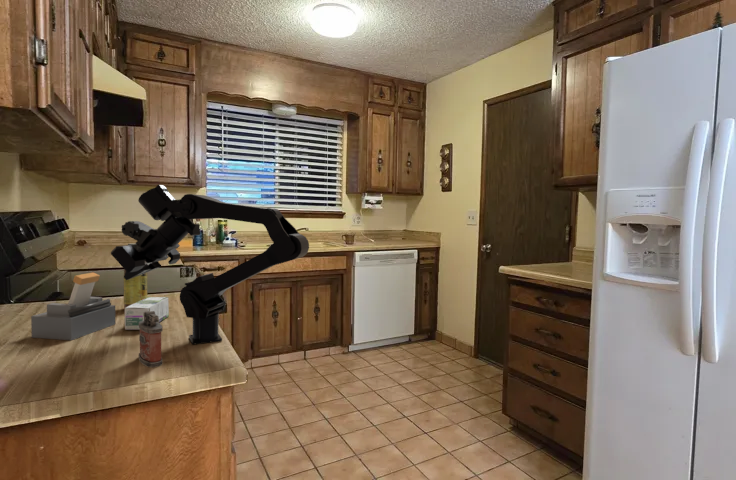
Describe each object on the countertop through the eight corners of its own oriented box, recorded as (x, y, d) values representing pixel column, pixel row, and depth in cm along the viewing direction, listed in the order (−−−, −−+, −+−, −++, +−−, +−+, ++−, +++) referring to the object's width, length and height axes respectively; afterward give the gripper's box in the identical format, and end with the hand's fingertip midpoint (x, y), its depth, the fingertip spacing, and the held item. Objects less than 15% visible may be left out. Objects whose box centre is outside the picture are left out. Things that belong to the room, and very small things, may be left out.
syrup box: (148, 316, 116) (124, 331, 102) (147, 296, 116) (123, 308, 101) (169, 316, 117) (148, 331, 102) (168, 295, 116) (147, 307, 102)
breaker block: (115, 324, 107) (115, 296, 107) (71, 340, 93) (71, 308, 93) (80, 321, 108) (79, 294, 108) (31, 337, 94) (31, 305, 94)
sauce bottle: (146, 310, 123) (146, 244, 122) (122, 311, 120) (122, 244, 119) (147, 305, 129) (147, 242, 128) (124, 306, 126) (124, 242, 125)
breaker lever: (88, 309, 103) (100, 275, 102) (70, 314, 98) (82, 278, 97) (81, 305, 103) (93, 272, 102) (63, 311, 98) (74, 275, 97)
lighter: (135, 357, 84) (135, 309, 83) (152, 353, 86) (153, 307, 86) (147, 368, 78) (147, 317, 78) (166, 364, 81) (166, 314, 80)
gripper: (169, 210, 106) (130, 250, 108) (118, 209, 88) (72, 258, 90) (198, 241, 106) (157, 281, 108) (153, 247, 87) (105, 295, 89)
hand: (125, 278), depth 99 cm, fingers closed
